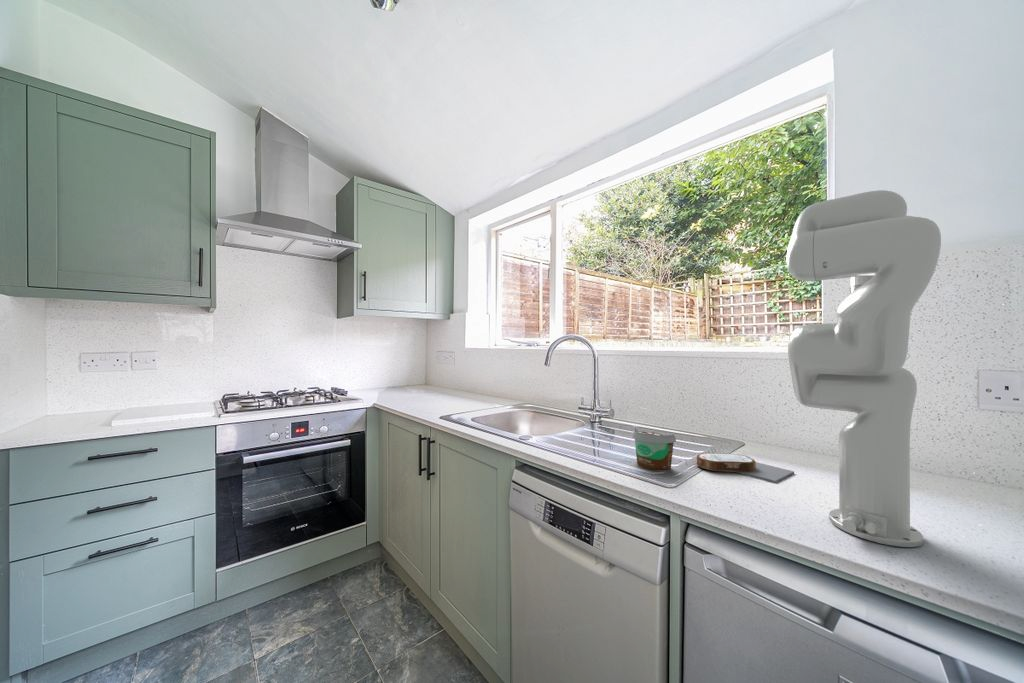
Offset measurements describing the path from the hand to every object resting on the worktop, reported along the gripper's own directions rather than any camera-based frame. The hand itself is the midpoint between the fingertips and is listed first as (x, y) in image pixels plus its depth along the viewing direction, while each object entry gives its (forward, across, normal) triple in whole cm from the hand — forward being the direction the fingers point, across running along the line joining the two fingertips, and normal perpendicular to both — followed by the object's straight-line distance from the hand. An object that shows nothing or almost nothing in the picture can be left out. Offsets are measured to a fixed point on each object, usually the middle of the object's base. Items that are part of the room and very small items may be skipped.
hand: (872, 369), depth 87 cm
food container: (+29, -30, +40) cm, 58 cm away
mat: (+29, -8, +23) cm, 38 cm away
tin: (+27, -16, +24) cm, 40 cm away
